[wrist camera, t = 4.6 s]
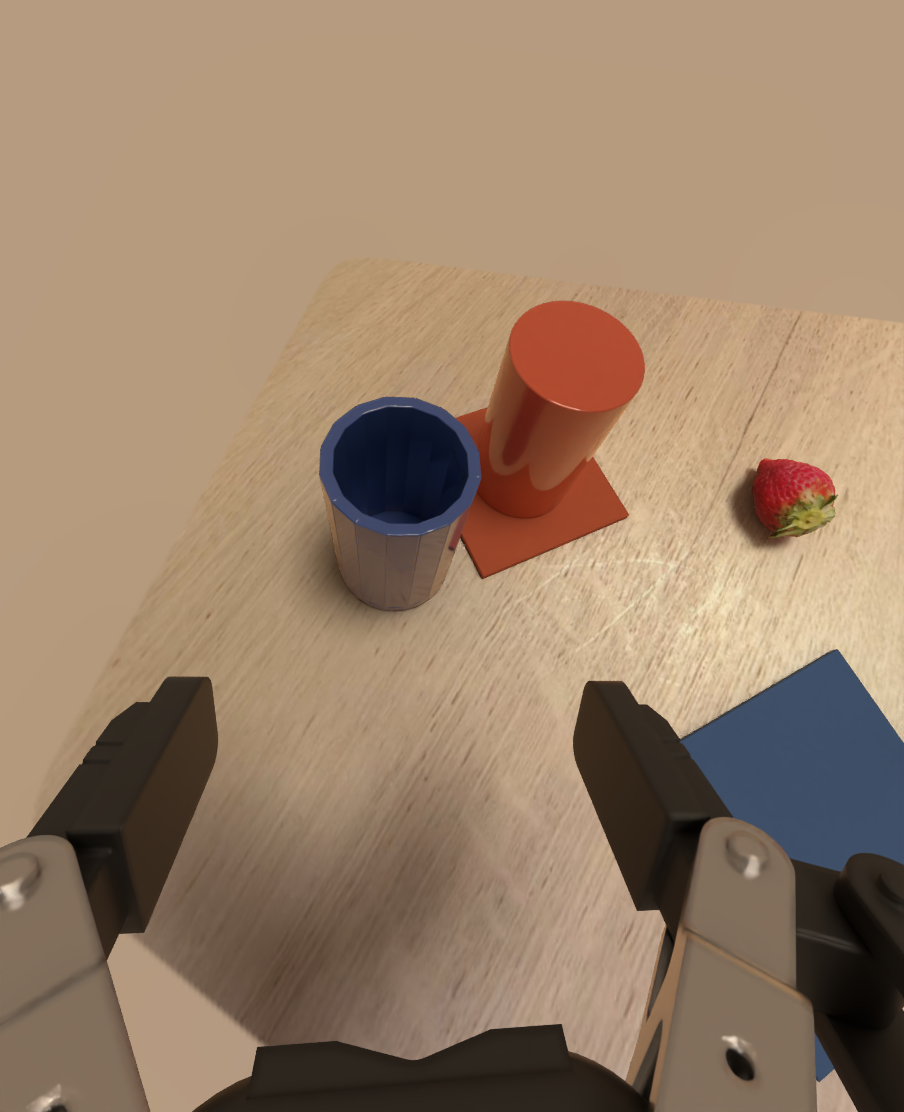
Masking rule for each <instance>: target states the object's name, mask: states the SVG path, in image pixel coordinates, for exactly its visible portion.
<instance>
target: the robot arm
mask: <svg viewBox="0 0 904 1112" xmlns="http://www.w3.org/2000/svg"><path fill="white" fill-rule="evenodd" d="M217 748H218V731H217V723H216V715H215V706H214V698H213V690H212V683H211V680H210V679H209V677H167V678H166V679H165V680H164V682H163V683H162V685H161V686H160V688H159V689H158V691H157V692H156V694H155V695H154V697H153V698H152V700H151V701H150V702H136V703H134V704H133V705H132V706H130V707H129V708H128V709H126V710H125V711H124V712H122V713H121V714H120V715H118V716H117V717H115V718H114V719H113V720H111V722H110V723H109V725H108V726H107V727H106V729H105V730H104V731H103V733H102V734H101V736H100V737H99V738H98V740H97V741H96V745H95V746H93V747H92V748H91V749H90V751H89V752H88V753H87V755H86V756H85V758H84V759H83V763H82V765H79V766H78V767H77V769H76V770H75V771H74V773H73V774H72V775H71V777H70V778H69V780H68V781H67V782H66V784H65V785H64V787H63V788H62V789H61V791H60V792H59V793H58V795H57V796H56V798H55V799H54V800H53V802H52V803H51V804H50V806H49V807H48V809H47V810H46V811H45V813H44V814H43V815H42V817H41V818H40V820H39V821H38V822H37V824H36V825H35V826H34V828H33V829H32V831H31V832H30V833H29V835H28V836H27V837H26V838H24V839H21V840H18V841H16V842H13V843H10V844H8V845H6V846H4V847H2V848H0V1112H150V1109H149V1106H148V1102H147V1099H146V1096H145V1092H144V1088H143V1085H142V1082H141V1079H140V1075H139V1071H138V1068H137V1064H136V1061H135V1058H134V1054H133V1051H132V1047H131V1043H130V1040H129V1036H128V1033H127V1030H126V1026H125V1023H124V1020H123V1016H122V1012H121V1009H120V1005H119V1002H118V998H117V995H116V991H115V988H114V985H113V981H112V978H111V974H110V971H109V967H108V964H107V959H108V957H109V954H110V953H111V950H112V948H113V946H114V944H115V942H116V939H117V937H118V935H119V934H127V933H144V932H145V929H146V927H147V925H148V922H149V920H150V918H151V915H152V913H153V910H154V908H155V906H156V903H157V901H158V898H159V896H160V894H161V891H162V889H163V886H164V884H165V882H166V879H167V877H168V874H169V872H170V870H171V867H172V865H173V862H174V860H175V858H176V855H177V853H178V850H179V848H180V846H181V843H182V841H183V838H184V836H185V834H186V831H187V829H188V827H189V824H190V822H191V819H192V817H193V815H194V812H195V810H196V807H197V805H198V803H199V800H200V798H201V795H202V793H203V791H204V788H205V786H206V783H207V781H208V779H209V776H210V774H211V771H212V769H213V766H214V763H215V759H216V755H217ZM573 750H574V756H575V761H576V764H577V767H578V769H579V771H580V774H581V776H582V779H583V781H584V783H585V786H586V788H587V791H588V793H589V796H590V798H591V800H592V803H593V805H594V808H595V810H596V813H597V815H598V817H599V820H600V822H601V825H602V827H603V829H604V832H605V834H606V837H607V839H608V842H609V844H610V846H611V849H612V851H613V854H614V856H615V859H616V861H617V863H618V866H619V868H620V871H621V873H622V875H623V878H624V880H625V883H626V885H627V888H628V890H629V892H630V895H631V897H632V900H633V902H634V905H635V907H636V909H637V911H646V910H660V912H661V914H662V916H663V919H664V921H665V923H666V925H665V928H664V930H663V933H662V936H661V941H660V945H659V950H658V954H657V958H656V963H655V967H654V972H653V976H652V980H651V985H650V989H649V994H648V998H647V1002H646V1007H645V1011H644V1016H643V1020H642V1024H641V1029H640V1033H639V1037H638V1040H637V1044H636V1048H635V1051H634V1054H633V1057H632V1061H631V1064H630V1067H629V1071H628V1074H627V1078H626V1081H624V1080H623V1079H622V1078H620V1077H619V1076H618V1075H616V1074H615V1073H614V1072H612V1071H610V1070H609V1069H607V1068H605V1067H604V1066H602V1065H600V1064H599V1063H597V1062H595V1061H593V1060H591V1059H588V1058H586V1057H584V1056H581V1055H579V1054H576V1053H573V1052H569V1051H568V1049H567V1045H566V1041H565V1036H564V1032H563V1028H562V1024H555V1025H542V1026H528V1027H515V1028H502V1029H490V1030H488V1031H486V1032H483V1033H481V1034H479V1035H476V1036H474V1037H472V1038H469V1039H467V1040H465V1041H463V1042H460V1043H458V1044H456V1045H453V1046H451V1047H449V1048H446V1049H444V1050H442V1051H439V1052H437V1053H435V1054H432V1055H430V1056H428V1057H425V1058H423V1059H419V1060H407V1059H403V1058H399V1057H395V1056H391V1055H388V1054H384V1053H380V1052H376V1051H372V1050H368V1049H365V1048H361V1047H357V1046H353V1045H349V1044H345V1043H342V1042H338V1041H330V1042H317V1043H304V1044H291V1045H277V1046H264V1047H257V1050H256V1056H255V1061H254V1066H253V1071H252V1076H250V1077H248V1078H245V1079H243V1080H241V1081H238V1082H236V1083H234V1084H233V1085H231V1086H229V1087H227V1088H226V1089H224V1090H222V1091H220V1092H219V1093H217V1094H215V1095H214V1096H213V1097H211V1098H210V1099H208V1100H207V1101H206V1102H204V1103H203V1104H201V1105H200V1106H199V1107H197V1108H196V1109H195V1110H194V1111H192V1112H817V1095H816V1065H815V1036H814V1032H815V1034H816V1036H817V1038H818V1039H819V1041H820V1043H821V1045H822V1047H823V1049H824V1050H825V1052H826V1054H827V1056H828V1058H829V1059H830V1061H831V1063H832V1065H833V1067H834V1069H835V1070H836V1072H837V1074H838V1076H839V1078H840V1080H841V1081H842V1083H843V1085H844V1087H845V1089H846V1091H847V1092H848V1094H849V1096H850V1098H851V1100H852V1102H853V1103H854V1105H855V1107H856V1109H857V1111H858V1112H904V1011H903V1010H902V1008H903V1007H904V865H902V864H900V863H899V862H896V861H894V860H892V859H890V858H887V857H884V856H881V855H877V854H873V853H858V854H854V855H852V856H851V857H850V858H849V859H848V861H847V862H846V864H845V866H844V868H843V870H842V871H841V872H840V871H836V870H832V869H829V868H825V867H821V866H817V865H813V864H809V863H806V862H802V861H798V860H794V859H791V858H789V857H788V855H787V854H786V852H785V851H784V850H783V849H782V847H781V846H780V845H779V844H778V843H777V842H776V841H775V840H774V839H773V838H771V837H770V836H769V835H768V834H766V833H765V832H763V831H762V830H760V829H759V828H757V827H755V826H753V825H751V824H749V823H747V822H744V821H742V820H738V819H735V818H734V817H733V816H732V814H731V813H730V811H729V810H728V808H727V807H726V805H725V804H724V803H723V801H722V800H721V798H720V797H719V795H718V794H717V792H716V791H715V790H714V788H713V787H712V785H711V784H710V782H709V781H708V779H707V778H706V776H705V775H704V774H703V772H702V771H701V769H700V768H699V766H698V765H697V763H696V762H695V761H694V759H691V755H690V753H689V752H688V750H687V749H686V747H685V746H684V745H683V743H680V739H679V737H678V736H677V734H676V733H675V732H674V730H673V729H672V727H671V726H670V724H669V723H668V721H667V720H666V719H664V718H663V717H662V716H661V715H659V714H658V713H657V712H656V711H654V710H653V709H652V708H651V707H649V706H648V705H639V704H638V703H637V701H636V700H635V698H634V696H633V695H632V693H631V692H630V690H629V689H628V687H627V686H626V684H625V683H624V682H622V681H588V682H587V683H586V685H585V687H584V691H583V695H582V699H581V704H580V708H579V713H578V717H577V722H576V726H575V731H574V736H573Z"/></svg>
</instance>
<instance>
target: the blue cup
mask: <svg viewBox="0 0 904 1112" xmlns="http://www.w3.org/2000/svg"><path fill="white" fill-rule="evenodd" d="M319 476H320V481H321V486H322V491H323V495H324V500H325V505H326V510H327V515H328V520H329V524H330V529H331V534H332V539H333V544H334V549H335V553H336V558H337V563H338V566H339V569H340V572H341V575H342V578H343V580H344V582H345V584H346V586H347V587H348V589H349V590H350V591H351V592H352V593H353V594H354V595H355V596H356V597H357V598H358V599H359V600H361V601H362V602H364V603H365V604H367V605H369V606H372V607H374V608H377V609H381V610H387V611H402V610H407V609H411V608H414V607H417V606H419V605H421V604H423V603H424V602H426V601H427V600H429V599H430V598H431V597H432V596H433V595H435V593H436V592H437V591H438V590H439V588H440V587H441V585H442V584H443V582H444V580H445V577H446V575H447V572H448V569H449V567H450V564H451V561H452V558H453V556H454V553H455V550H456V547H457V545H458V542H459V539H460V536H461V534H462V531H463V528H464V525H465V523H466V520H467V517H468V514H469V512H470V509H471V506H472V503H473V501H474V498H475V495H476V492H477V490H478V487H479V484H480V481H481V466H480V455H479V451H478V448H477V447H476V445H475V443H474V441H473V439H472V438H471V436H470V434H469V432H468V430H467V429H466V427H465V426H464V425H463V424H462V423H460V422H459V421H458V420H457V419H456V418H454V417H453V416H452V415H451V414H450V413H448V412H447V411H446V410H445V409H443V408H441V407H438V406H436V405H433V404H430V403H428V402H425V401H422V400H420V399H417V398H416V399H415V398H406V397H382V398H379V399H376V400H372V401H369V402H366V403H362V404H359V405H357V406H355V407H354V408H352V409H351V410H350V411H349V412H347V413H346V414H345V415H343V416H342V417H341V418H339V419H338V420H337V421H336V422H335V423H334V424H333V425H332V427H331V429H330V431H329V433H328V434H327V436H326V438H325V440H324V442H323V444H322V445H321V449H320V467H319Z"/></svg>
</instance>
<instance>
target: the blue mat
mask: <svg viewBox="0 0 904 1112" xmlns="http://www.w3.org/2000/svg"><path fill="white" fill-rule="evenodd" d="M680 743H683V745H684V746H685V747H686V749H687V750H688V752H689V753H690V755H691V759H694V761H695V762H696V763H697V765H698V766H699V768H700V769H701V771H702V772H703V774H704V775H705V776H706V778H707V779H708V781H709V782H710V784H711V785H712V787H713V788H714V790H715V791H716V792H717V794H718V795H719V797H720V798H721V800H722V801H723V803H724V804H725V805H726V807H727V808H728V810H729V811H730V813H731V814H732V816H733V817H734V818H735V819H738V820H742V821H744V822H747V823H749V824H751V825H753V826H755V827H757V828H759V829H760V830H762V831H763V832H765V833H766V834H768V835H769V836H770V837H771V838H773V839H774V840H775V841H776V842H777V843H778V844H779V845H780V846H781V847H782V849H783V850H784V851H785V852H786V854H787V855H788V857H789V858H791V859H794V860H798V861H802V862H806V863H809V864H813V865H817V866H821V867H825V868H829V869H832V870H836V871H840V872H841V871H842V870H843V868H844V866H845V864H846V862H847V861H848V859H849V858H850V857H851V856H852V855H854V854H858V853H873V854H877V855H881V856H884V857H887V858H890V859H892V860H894V861H896V862H899V863H900V864H902V865H904V743H903V741H902V740H901V739H900V737H899V736H898V734H897V733H896V731H895V730H894V729H893V727H892V726H891V724H890V723H889V722H888V720H887V719H886V717H885V716H884V714H883V713H882V712H881V710H880V709H879V707H878V706H877V704H876V703H875V702H874V700H873V699H872V697H871V696H870V694H869V693H868V692H867V690H866V689H865V687H864V686H863V684H862V683H861V682H860V680H859V679H858V677H857V676H856V674H855V673H854V672H853V670H852V669H851V667H850V666H849V665H848V663H847V662H846V660H845V659H844V657H843V656H842V655H841V653H840V652H839V650H838V649H836V650H832V651H831V652H829V653H827V654H825V655H824V656H822V657H820V658H819V659H817V660H815V661H814V662H812V663H810V664H808V665H807V666H805V667H803V668H802V669H800V670H798V671H797V672H795V673H793V674H791V675H790V676H788V677H786V678H785V679H783V680H781V681H780V682H778V683H776V684H774V685H773V686H771V687H769V688H768V689H766V690H764V691H763V692H761V693H759V694H757V695H756V696H754V697H752V698H751V699H749V700H747V701H745V702H744V703H742V704H740V705H739V706H737V707H735V708H734V709H732V710H730V711H728V712H727V713H725V714H723V715H722V716H720V717H718V718H717V719H715V720H713V721H711V722H710V723H708V724H706V725H705V726H703V727H701V728H700V729H698V730H696V731H694V732H693V733H691V734H689V735H688V736H686V737H684V738H683V739H681V740H680ZM814 1036H815V1065H816V1080H817V1081H818V1082H820V1081H821V1080H822V1079H823V1078H825V1077H826V1076H827V1075H828V1074H829V1073H830V1072H831V1071H832V1070H833V1069H834V1067H833V1065H832V1063H831V1061H830V1059H829V1058H828V1056H827V1054H826V1052H825V1050H824V1049H823V1047H822V1045H821V1043H820V1041H819V1039H818V1038H817V1036H816V1034H815V1032H814Z"/></svg>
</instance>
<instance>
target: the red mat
mask: <svg viewBox="0 0 904 1112" xmlns="http://www.w3.org/2000/svg"><path fill="white" fill-rule="evenodd" d="M486 411H487V408H484V409H481V410H478V411H475V412H472V413H469V414H466V415H463V416H460V417H457V418H456V419H457V420H458V421H459V422H460V423H462V424H463V425H464V426H465V427H466V429H467V430H468V432H469V434H470V436H471V438H472V439H473V441H474V443H475V445H476V444H477V441H478V437H479V434H480V431H481V428H482V424H483V421H484V418H485V415H486ZM628 516H629V514H628V512H627V511H626V509H625V507H624V506H623V504H622V503H621V501H620V499H619V498H618V496H617V495H616V493H615V491H614V490H613V488H612V487H611V485H610V483H609V482H608V480H607V479H606V477H605V476H604V474H603V472H602V471H601V469H600V468H599V466H598V464H597V463H596V461H595V460H594V458H593V457H592V458H591V460H590V461H589V462H588V464H587V465H586V467H585V468H584V470H583V471H582V472H581V474H580V475H579V477H578V478H577V480H576V481H575V482H574V484H573V485H572V487H571V488H570V490H569V491H568V492H567V494H566V495H565V497H564V498H563V500H562V501H561V502H560V503H559V505H558V506H557V507H555V508H554V509H553V510H551V511H550V512H548V513H546V514H544V515H541V516H538V517H533V518H517V517H512V516H509V515H505V514H503V513H501V512H499V511H497V510H495V509H494V508H492V507H491V506H490V505H488V504H487V503H486V502H485V501H484V500H483V499H482V498H481V496H480V495H479V494H478V492H476V495H475V498H474V501H473V503H472V506H471V509H470V512H469V514H468V517H467V520H466V523H465V525H464V528H463V531H462V534H461V538H462V540H463V542H464V544H465V546H466V548H467V550H468V551H469V553H470V555H471V557H472V559H473V561H474V563H475V565H476V567H477V569H478V571H479V573H480V575H481V577H482V578H486V577H488V576H490V575H493V574H495V573H497V572H500V571H502V570H504V569H507V568H509V567H512V566H514V565H516V564H519V563H521V562H523V561H526V560H528V559H530V558H533V557H535V556H537V555H540V554H542V553H545V552H547V551H549V550H552V549H554V548H556V547H559V546H561V545H563V544H566V543H568V542H570V541H573V540H575V539H578V538H580V537H582V536H585V535H587V534H589V533H592V532H594V531H596V530H599V529H601V528H604V527H606V526H608V525H611V524H613V523H615V522H618V521H620V520H622V519H625V518H627V517H628Z"/></svg>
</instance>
